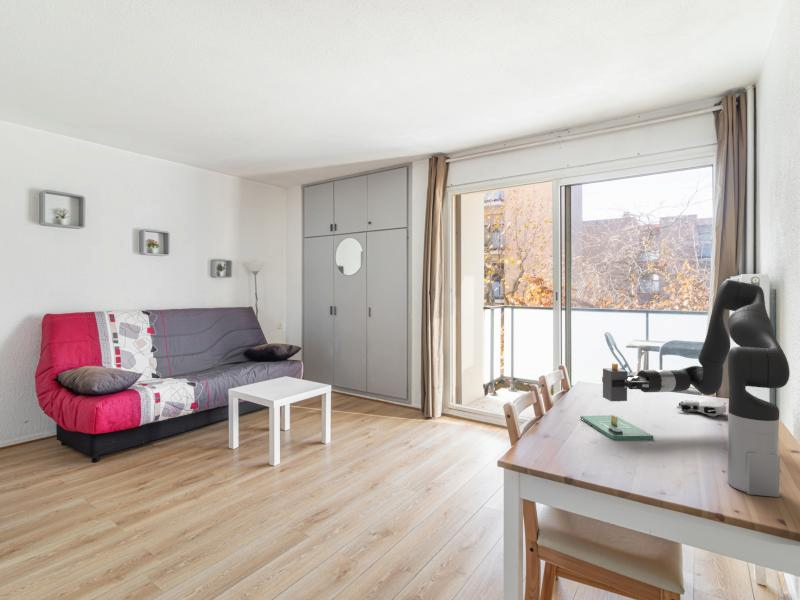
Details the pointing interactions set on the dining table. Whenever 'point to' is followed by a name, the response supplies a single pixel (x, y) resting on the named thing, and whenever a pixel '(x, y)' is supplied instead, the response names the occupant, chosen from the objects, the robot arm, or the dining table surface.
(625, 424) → the header board
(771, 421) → the robot arm
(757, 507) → the dining table surface
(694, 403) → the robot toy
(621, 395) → the block
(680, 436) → the dining table surface
